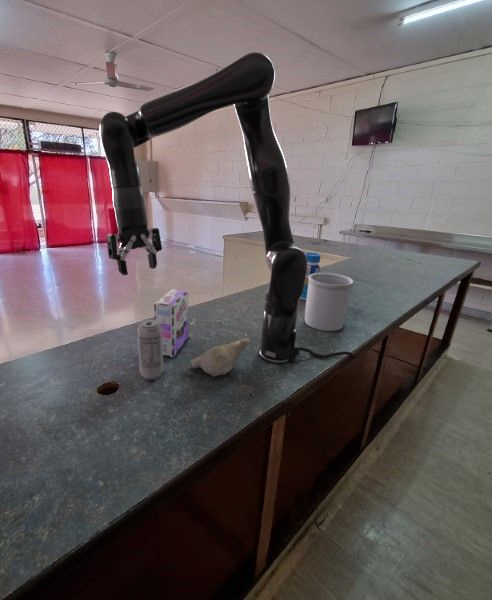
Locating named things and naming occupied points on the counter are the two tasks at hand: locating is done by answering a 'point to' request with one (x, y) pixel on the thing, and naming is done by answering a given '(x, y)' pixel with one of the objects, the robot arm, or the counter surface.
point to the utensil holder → (327, 300)
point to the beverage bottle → (310, 270)
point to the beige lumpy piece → (220, 358)
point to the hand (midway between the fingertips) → (139, 271)
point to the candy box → (173, 320)
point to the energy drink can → (150, 349)
